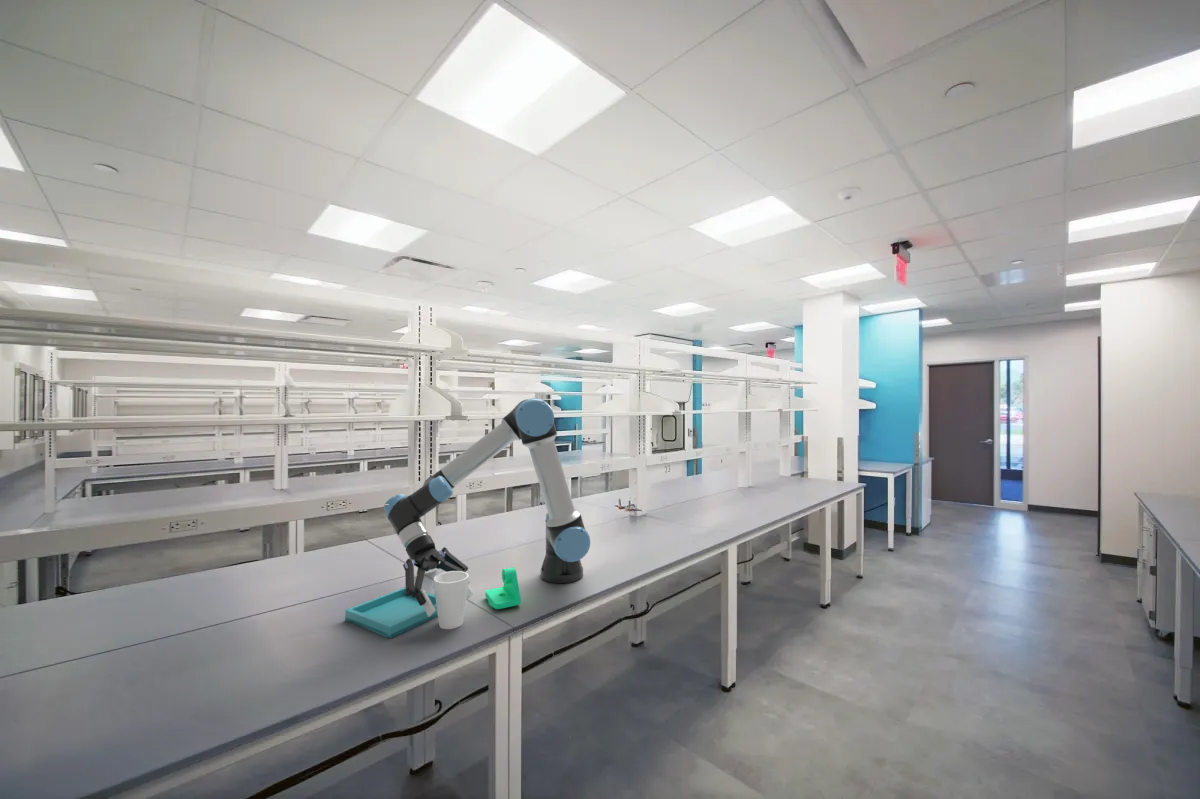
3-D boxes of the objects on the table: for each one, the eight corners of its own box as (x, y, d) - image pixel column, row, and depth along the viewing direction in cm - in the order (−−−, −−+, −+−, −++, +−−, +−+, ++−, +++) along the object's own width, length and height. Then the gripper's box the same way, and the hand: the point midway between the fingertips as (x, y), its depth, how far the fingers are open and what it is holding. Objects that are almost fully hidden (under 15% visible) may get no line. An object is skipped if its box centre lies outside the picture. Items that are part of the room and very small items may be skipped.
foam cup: (456, 613, 136) (456, 568, 136) (475, 622, 130) (475, 575, 131) (426, 625, 129) (426, 577, 129) (445, 635, 123) (445, 586, 123)
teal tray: (406, 595, 149) (406, 586, 149) (450, 609, 138) (450, 599, 138) (345, 620, 131) (345, 609, 132) (390, 638, 121) (390, 627, 121)
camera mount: (484, 598, 147) (484, 566, 147) (507, 594, 151) (508, 562, 151) (495, 613, 137) (496, 578, 137) (520, 608, 140) (520, 573, 141)
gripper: (444, 539, 149) (478, 596, 141) (372, 561, 128) (407, 630, 120) (456, 524, 147) (491, 582, 139) (384, 544, 125) (420, 614, 117)
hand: (452, 604), depth 129 cm, fingers open, 13 cm apart
